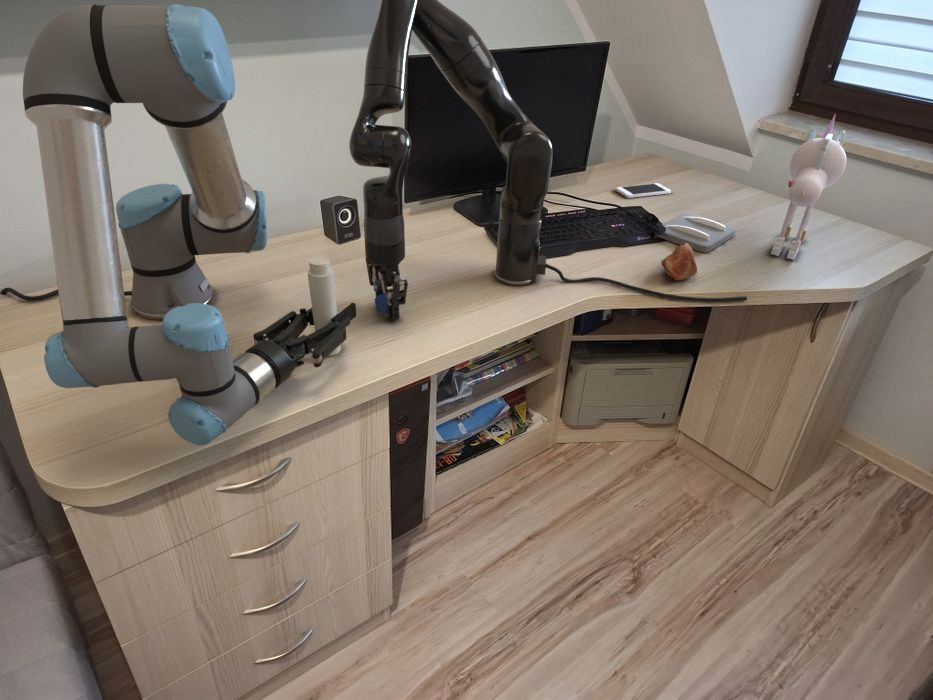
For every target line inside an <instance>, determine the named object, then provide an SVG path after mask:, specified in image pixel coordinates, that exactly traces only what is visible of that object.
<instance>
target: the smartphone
mask: <svg viewBox="0 0 933 700" xmlns="http://www.w3.org/2000/svg"><path fill="white" fill-rule="evenodd" d="M615 192H617V193H619V194H620V195H622V196H624V197H625V198H628V199H630V198H639V197H640V198H641V197H649V196H656V195H657V196H659V195H665V194H671V192H672V190H671V189H670V188H668V187H666V186H664V185H663V184H661V183H658V182H654V183H645V184H644V183H643V184H636V185H634V184H633V185H626V186H617V187H615Z"/></svg>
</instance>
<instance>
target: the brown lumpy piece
mask: <svg viewBox="0 0 933 700" xmlns="http://www.w3.org/2000/svg"><path fill="white" fill-rule="evenodd" d="M693 250H694V249H692V248H691V246H690V245H689V244H688V243H685V244H684V245H680V244H679V245H678V246H677V247H675V249H674V250H673V251H672V253H671V254H669V255H668V256H666V257H665V258H664V259H662V260H661V262H660V265H661V266H662V268H663V270H664V272H665V273H666V274H667V275H668V276H670V277H671V278H672V279H674V280H676V281H684V280H688V279H689V278H692V277H693V276H694V275H696V274H698V267H697V264H696V260H695V254H694V251H693Z"/></svg>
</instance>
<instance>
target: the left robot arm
mask: <svg viewBox="0 0 933 700" xmlns="http://www.w3.org/2000/svg"><path fill="white" fill-rule="evenodd" d="M235 80H236V79H235V73H234V67H233V63H232V58H231V56H230V49H229V45H228V42H227V40H226V37H225V34H224V32H223V29H222V27H221V25H220V23H219V21H218V20H217V18H216V17H215V16H214V14H213V13H212V12H210V11H209V10H208V9H206V8H203V7H199V6H188V5H187V6H186V5H183V4H179V3H174V4H173V3H172V4H171V5H130V4H129V5H126V4H125V5H123V4H121V5H120V4H113V5H112V4H110V5H109V4H108V5H107V4H105V5H104V4H103V5H101V4H100V5H99V4H90V3H88V4H79V5H75V6H72V7H70V8H67V9H65V10H63V11H61V12H59V13H57V14H56V15H55V16H54V17H52V19H50V20H49V21H48V22H47V23H46V24H45V25H44V27H43V28H42V29H41V31H40V32H39V33H38V35H37V37H36V38H35V40H34V42H33V44H32V45H31V48H30V51H29V53H28V57H27V59H26V62H25V67H24V72H23V78H22V100H23V106H24V107H23V108H24V115H25V118H26V119H28V120H29V121H30V122H31V123H32V124H34V125H35V126H36V132H37V134H36V135H37V141H38V148H39V156H40V163H41V171H42V178H43V186H44V195H45V201H46V208H47V216H48V225H49V232H50V238H51V247H52V253H53V255H52V256H53V263H54V269H55V277H56V284H57V289H54V290H52V291H50V292H47V293H45V294H41V295H40V294H39V295H26V294H23V293H21V292H19V291H17V290H16V289H14V288H12V287H4V288H3V289H2V290H1V291H0V295H2V296H3V295H6V294H8V293H11V294H12V295H13V296H15V297H17V298H18V299H21V300H24V301H28V302H38V301H42V300H46V299H50V298H52V297H54V296H57V295H58V299H59V307H60V315H61V321H62V328H63V329H62V331H60V332H57V333H53V334H51V335H49V337H48V338H47V339H46V341H45V345H44V352H45V353H44V354H43V361H44V367H45V370H46V373H47V375H48V378H49V379H50V380H51V382H52V383H53V384H55V385H56V386H57V387H60V388H62V389H63V388H64V389H76V388H77V389H78V388H93V389H95V388H99V387H103V386H112V385H122V384H123V385H124V384H130V383H131V384H132V383H142V382H153V381H165V380H177V382H178V386H179V389H180V393H181V396H180V397H178V398H176V399H175V401H174V402H173V403H172V404H171V405H170V406H169V408H168V412H167V419H168V421H169V424H170V426H171V428H172V429H173V431H174V432H175V433H176V434H177V435H178V436H179V437H180V438H181V439H182V440H184V441H186V442H188V443H190V444H192V445H194V446H205V445H207V444H209V443H210V442H212V441H213V440H215V439H216V438H218V437H220V436H221V435H222V434H223V433H226V432H227V431H228V429H229V428H231V426H233V425H234V424H235V423H236V422H237V421H239V420H240V419H241V418H242V417H244V416H245V415H246V414H247V413H248V412H249V411H251V410H252V409H253V408H254V407H256V405H257V404H259V403H260V402H261V401H262V400H264V399H265V398H267V396H268V395H270V394H271V393H272V392H274V390H275V389H277V388H278V387H280V386H281V385H282V384H284V383H285V382H286V381H287V380H288V379H289V378H290V377H291V375H292V374H293V372H294V370H295V369H296V368H298V367H302V366H303V365H304V364H306V363H309V364H313V367H314V368H320V367H321V366H322V364H323V362H324V360H325V359H326V358H328V357H329V356H328V355H329V354H331V353H332V352H333V351H334V350H335V349H336V348H337V347H338V346H341V345H342V344H343V343H344V342H346V340H347V337H348V336H347V327H348V326H350V325H351V321H353V320H354V319H355V318H357V304H356V303H355V302H351V303H349V304H348V305H347V306H345V308H343V309H342V310H341V311H339V312H337V315H336V316H334V317H333V318H332V323H330V324H328V325H326V326H324V327H322V328H321V329H319V330H317V331H315V330H314V331H313V332H311V333H309V334H307V335H306V334H303V333H304V331H305V330H306V328H307V327H308V326H312V327H314V321H313V313H312V306H311V307H310V308H309V309H307V308H305V307H301V308H299V313H297V312H296V311H295V310H292V311H289V312H288V313H286V314H285V315H283V316H282V317H280V318H279V319H278V320H276V321H275V322H273V323H272V324H270V325H268V326H267V327H265V328H264V329H263V330H260V331H258V332H255V333H253V334H252V337H253V343H254V344H253V345H252V346H251V347H249V348H247V350H245V351H244V352H242V353H240V354H239V355H237V356H236V357H235V358H234V359H233V356H232V352H231V345H230V337H229V334H228V333H227V330H226V326H225V323H224V318H223V315H222V313H221V311H220V310H218V309H217V308H216V307H214V306H212V305H211V303H212V302H213V300H214V292H213V287H212V286H211V283H210V281H209V280H208V277H207V276H206V275H205V274H204V272H203V270H202V269H201V267H200V266H199V264H198V263H197V260H196V256H208V255H223V254H237V253H238V254H239V253H245V254H250V253H252V252H260V251H263V250H264V249H266V247H267V245H268V229H267V206H266V205H267V204H266V196H265V193H264V192H263V191H262V190H257V189H253V187H252V186H251V185H250V184H249V183H248V182H247V181H245V180H244V178H242V176H241V172H240V169H239V166H238V165H239V164H238V162H237V158H236V155H235V152H234V149H233V143H232V142H231V138H230V134H229V130H228V128H227V124H226V121H225V118H224V113H223V112H224V111H225V109H226V107H227V104H228V101H231V100H232V99H233V98H234V97H235V93H236V81H235ZM115 103H116V104H142V105H143V107H144V109H145V111H146V112H147V114H148V115H149V116H150V117H151V118H152V119H153V120H154V121H155V122H157V123H159V124H161V125H163V126H164V128H165V131H166V133H167V135H168V138H169V139H170V142H171V144H172V146H173V147H172V148H173V149H174V151H175V154H176V156H177V158H178V161H179V163H180V165H181V168H182V170H183V172H184V175H185V177H186V179H187V182H188V184H189V187H190V189H191V193H183V192H182V190H181V188H180V187H179V186H178V185H177V184H173V183H172V184H170V183H158V184H157V183H156V184H151V185H146V186H143V187H140V188H136V189H134V190H132V191H129V192H128V193H126V194H123V196H121V197H120V198H119V199H118V200H117V202H116V205H115V207H114V199H113V191H112V190H113V189H112V182H111V181H112V180H111V174H110V165H109V158H108V157H109V156H108V149H107V140H106V132H105V131H106V129H107V128H108V127H109V126H110V125H111V124H112V122H113V119H112V118H113V117H112V110H111V109H112V107H111V106H112V105H113V104H115ZM115 212H116V215H115ZM116 216H117V220H118V224H117V222H116ZM117 226H118V228H119V229H120V232H121V235H122V239H123V242H124V246H125V249H126V253H127V257H128V260H129V263H130V267H131V269H132V289H131V290H129V291H127V290H126V291H125V287H124V281H123V272H122V265H121V256H120V248H119V238H118V233H117ZM126 297H130V299H131V300H130V301H131V306H132V310H133V312H134V314H136V315H137V316H138V317H140V318H142V319H145V320H150V321H162V324H152V325H140V326H139V325H138V326H137V325H136V326H129V321H128V314H127V305H126Z"/></svg>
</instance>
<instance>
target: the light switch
mask: <svg viewBox="0 0 933 700" xmlns="http://www.w3.org/2000/svg"><path fill="white" fill-rule="evenodd" d="M661 224H662V225H663V226H664V227H665V228H666V231H665V234H667V235H668V237H665V236H662V235H658V236H657V235H654V236H655V237H657V238H659V239H663V240H665V241H669V242H671V243H674V244H677V245H679V246H680V245H684V244H685V243H688V244H689V245H690V246H691V248H692V250H694V251H697V252H699V253H709V252H711V251H712V250H714V249H716V248H717V247H719V246H720V245H722V244H724V243H725V242H727V241H730V239H732V238H734V237H736V234H737V228H736V227H734V226H732V225H729V224H725V223H722V222H719V221H716V220H713V219H710V218H707V217H703V216H700V215H697V214H694V213H690V212H683V213H682V214H679V215H677V216H675V217H673V218H671V219H669V220H668V221H666V222H663V223H661Z"/></svg>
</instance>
